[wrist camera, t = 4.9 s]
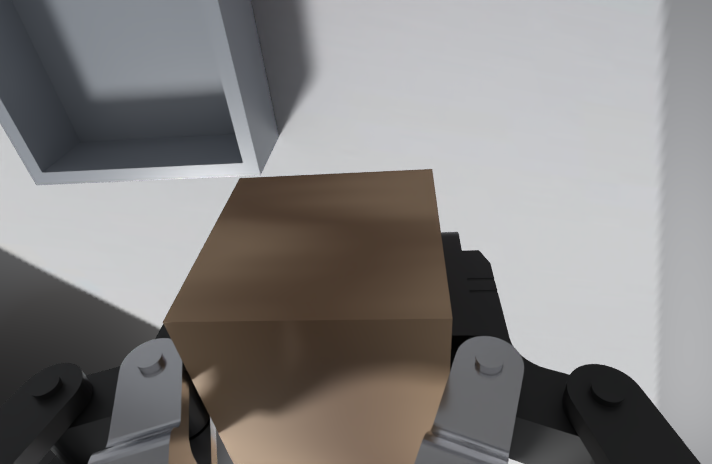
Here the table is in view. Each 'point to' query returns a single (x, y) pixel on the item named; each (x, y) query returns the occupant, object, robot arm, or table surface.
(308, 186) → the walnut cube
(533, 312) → the table surface
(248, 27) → the tote
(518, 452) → the robot arm
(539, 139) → the table surface
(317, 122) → the table surface
